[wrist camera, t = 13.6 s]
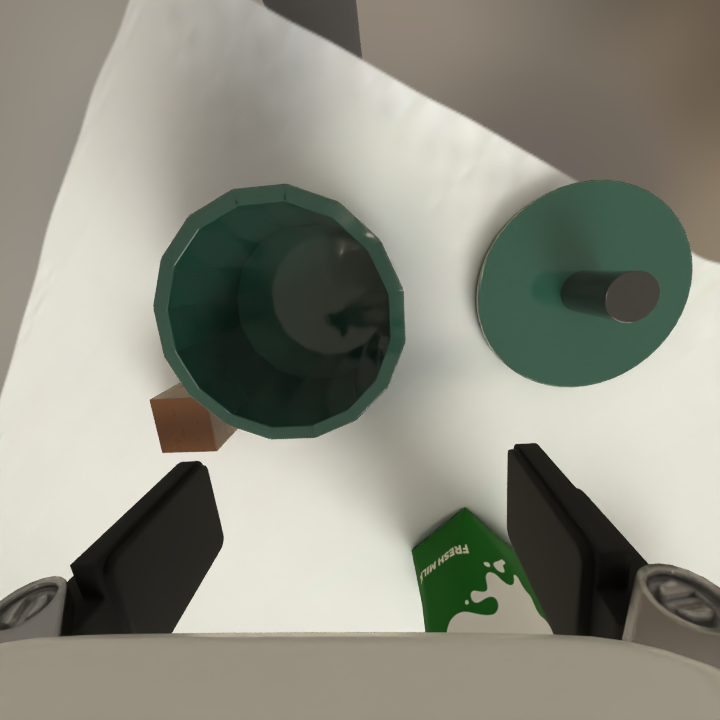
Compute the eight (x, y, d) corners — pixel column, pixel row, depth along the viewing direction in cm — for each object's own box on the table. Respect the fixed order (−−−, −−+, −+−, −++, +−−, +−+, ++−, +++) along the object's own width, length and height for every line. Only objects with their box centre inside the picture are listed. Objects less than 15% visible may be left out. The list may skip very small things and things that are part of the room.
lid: (475, 194, 25) (505, 168, 18) (695, 173, 23) (806, 139, 17) (472, 386, 28) (497, 419, 22) (662, 378, 27) (744, 410, 21)
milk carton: (462, 602, 34) (564, 1037, 15) (396, 548, 33) (414, 942, 14) (531, 552, 32) (755, 982, 13) (464, 493, 31) (596, 865, 12)
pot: (217, 223, 26) (128, 198, 17) (393, 207, 25) (399, 172, 16) (244, 389, 30) (182, 442, 21) (401, 382, 29) (409, 435, 19)
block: (183, 380, 30) (148, 399, 26) (232, 378, 30) (206, 397, 25) (193, 427, 31) (162, 453, 27) (240, 425, 31) (216, 451, 26)
